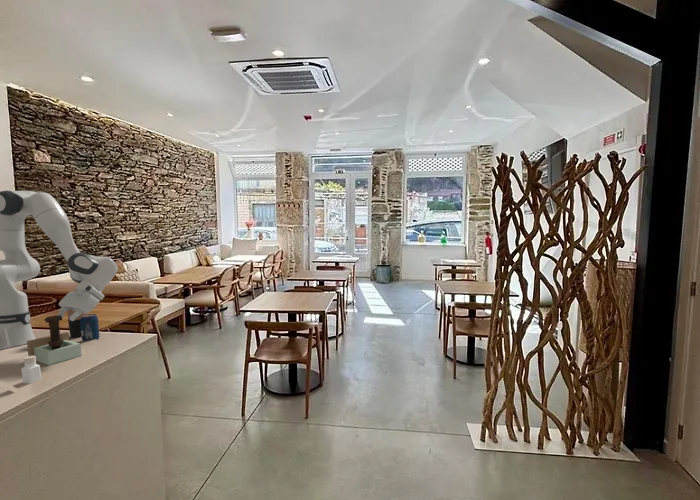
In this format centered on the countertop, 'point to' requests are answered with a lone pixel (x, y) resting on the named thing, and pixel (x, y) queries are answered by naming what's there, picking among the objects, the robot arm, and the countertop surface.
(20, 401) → the countertop surface
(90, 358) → the countertop surface
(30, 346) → the backstop board
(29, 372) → the pepper shaker
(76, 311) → the robot arm
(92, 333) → the soda can
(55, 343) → the bolt
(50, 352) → the socket block
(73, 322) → the travel mug
